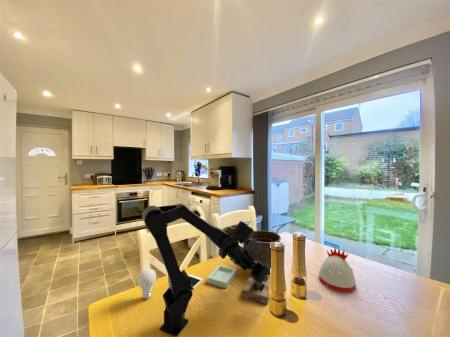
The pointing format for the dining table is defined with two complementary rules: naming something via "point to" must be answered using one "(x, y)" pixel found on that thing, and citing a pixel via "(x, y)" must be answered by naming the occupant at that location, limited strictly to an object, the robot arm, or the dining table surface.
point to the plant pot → (265, 245)
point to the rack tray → (222, 276)
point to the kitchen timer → (337, 272)
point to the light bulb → (146, 281)
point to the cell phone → (194, 280)
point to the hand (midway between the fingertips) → (259, 274)
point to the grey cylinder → (255, 283)
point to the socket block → (256, 291)
